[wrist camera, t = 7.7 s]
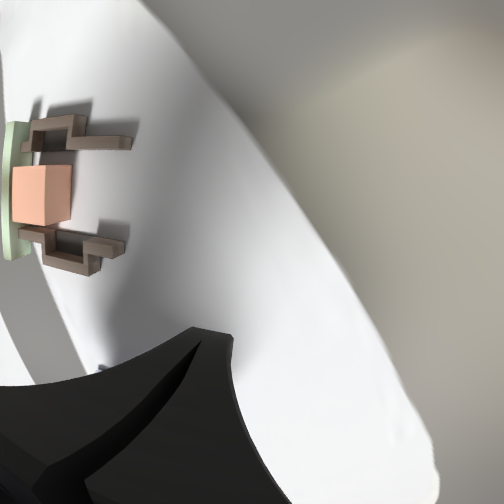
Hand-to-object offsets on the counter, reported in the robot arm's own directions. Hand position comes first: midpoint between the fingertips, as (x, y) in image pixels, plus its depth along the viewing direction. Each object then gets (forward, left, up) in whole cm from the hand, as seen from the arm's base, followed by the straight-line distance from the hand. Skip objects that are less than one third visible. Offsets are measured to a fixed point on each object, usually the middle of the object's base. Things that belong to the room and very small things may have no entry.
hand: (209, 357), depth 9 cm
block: (+3, +16, -10) cm, 19 cm away
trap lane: (+4, +14, -9) cm, 17 cm away
